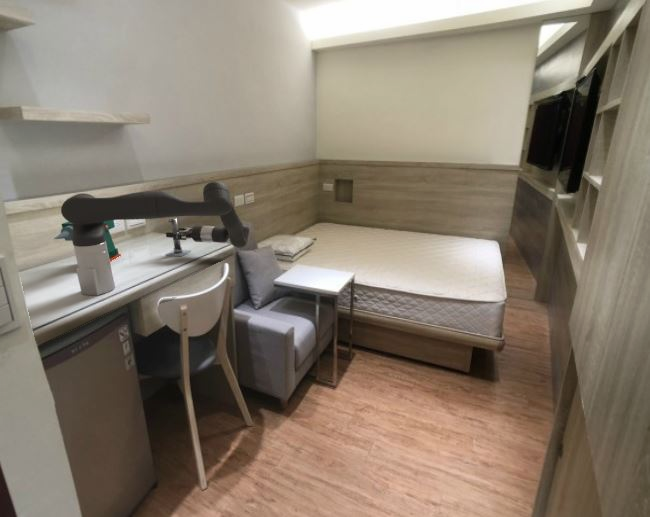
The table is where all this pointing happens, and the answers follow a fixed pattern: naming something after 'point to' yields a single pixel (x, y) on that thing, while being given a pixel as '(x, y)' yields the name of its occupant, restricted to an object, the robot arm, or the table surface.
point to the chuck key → (177, 242)
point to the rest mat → (178, 253)
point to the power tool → (112, 251)
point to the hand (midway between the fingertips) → (171, 232)
